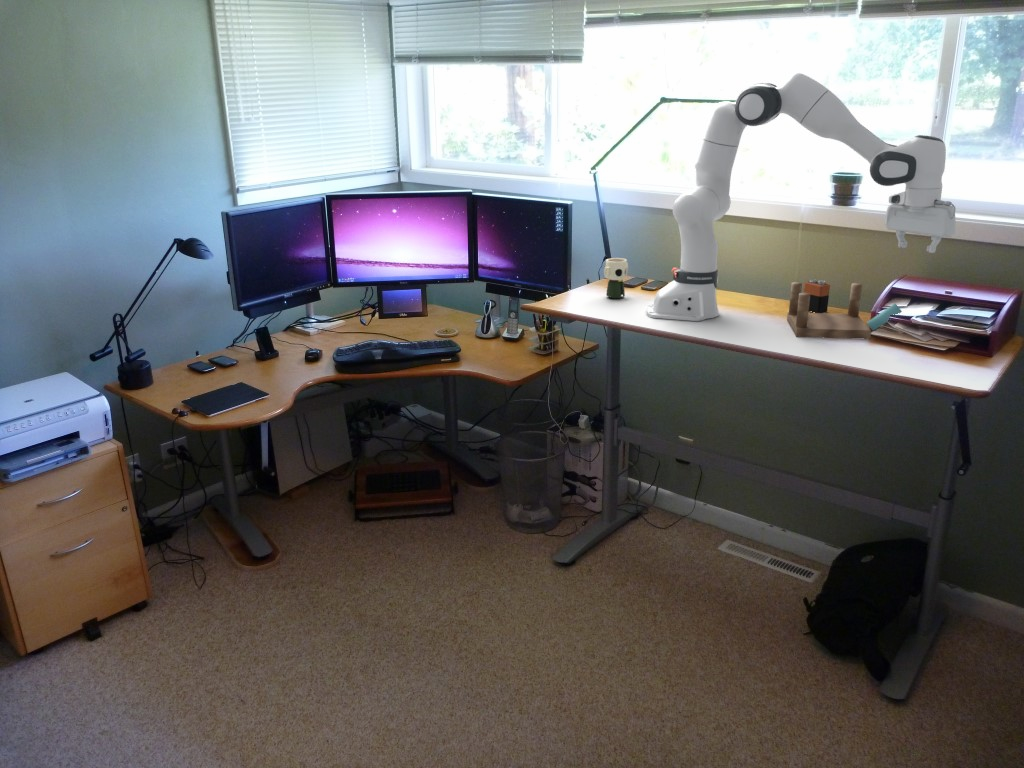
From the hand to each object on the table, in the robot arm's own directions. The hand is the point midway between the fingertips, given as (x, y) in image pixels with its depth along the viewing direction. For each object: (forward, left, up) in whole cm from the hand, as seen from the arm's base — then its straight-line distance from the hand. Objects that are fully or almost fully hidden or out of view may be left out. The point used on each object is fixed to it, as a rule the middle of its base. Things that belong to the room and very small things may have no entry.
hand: (916, 250), depth 229 cm
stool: (-20, +6, -25) cm, 32 cm away
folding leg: (-10, -1, -22) cm, 24 cm away
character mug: (-83, +39, -25) cm, 95 cm away
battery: (-20, +27, -25) cm, 41 cm away
